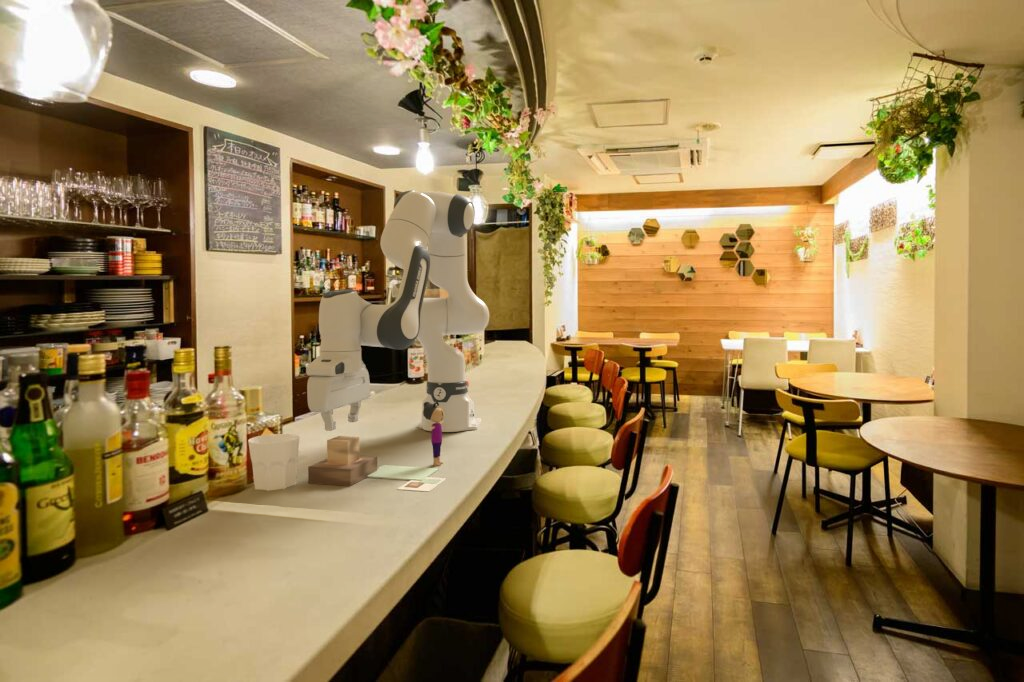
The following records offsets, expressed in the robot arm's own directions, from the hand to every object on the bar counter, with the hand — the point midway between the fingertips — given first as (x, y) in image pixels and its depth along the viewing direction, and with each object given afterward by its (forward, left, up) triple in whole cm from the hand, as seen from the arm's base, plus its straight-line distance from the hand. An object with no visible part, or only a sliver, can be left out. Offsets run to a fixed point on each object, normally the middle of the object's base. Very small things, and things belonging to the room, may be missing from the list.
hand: (342, 425), depth 135 cm
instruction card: (+2, +20, -11) cm, 23 cm away
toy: (-14, +16, -12) cm, 24 cm away
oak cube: (+1, +1, -8) cm, 8 cm away
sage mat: (-5, +12, -11) cm, 17 cm away
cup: (+10, -10, -12) cm, 18 cm away
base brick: (+1, +1, -11) cm, 11 cm away
